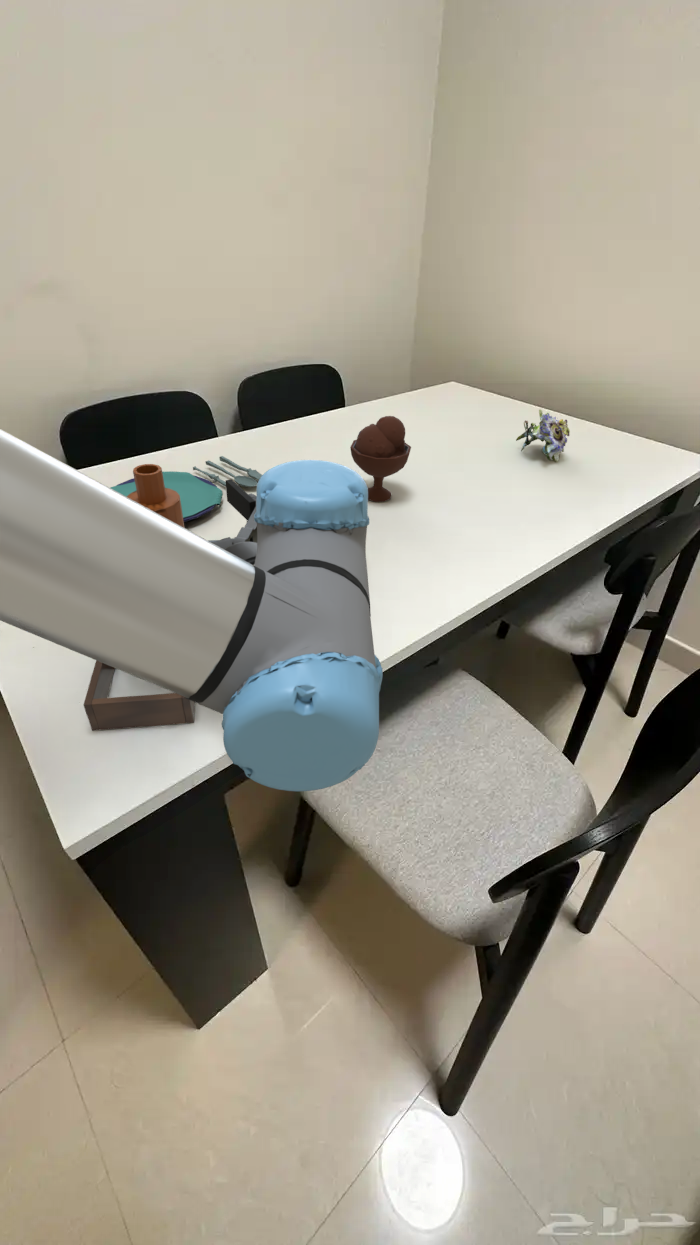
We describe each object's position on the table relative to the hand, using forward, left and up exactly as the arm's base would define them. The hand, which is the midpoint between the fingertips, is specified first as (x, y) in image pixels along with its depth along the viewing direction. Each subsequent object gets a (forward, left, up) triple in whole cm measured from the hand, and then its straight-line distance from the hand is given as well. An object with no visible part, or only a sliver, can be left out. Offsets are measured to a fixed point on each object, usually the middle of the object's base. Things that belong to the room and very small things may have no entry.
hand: (174, 501), depth 67 cm
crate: (-4, -13, -17) cm, 22 cm away
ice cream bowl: (+32, +36, -18) cm, 51 cm away
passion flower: (+72, +54, -18) cm, 91 cm away
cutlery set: (-3, +37, -18) cm, 41 cm away
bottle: (-4, +9, -17) cm, 19 cm away
